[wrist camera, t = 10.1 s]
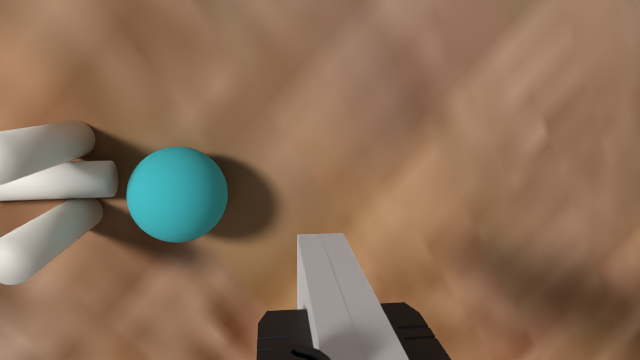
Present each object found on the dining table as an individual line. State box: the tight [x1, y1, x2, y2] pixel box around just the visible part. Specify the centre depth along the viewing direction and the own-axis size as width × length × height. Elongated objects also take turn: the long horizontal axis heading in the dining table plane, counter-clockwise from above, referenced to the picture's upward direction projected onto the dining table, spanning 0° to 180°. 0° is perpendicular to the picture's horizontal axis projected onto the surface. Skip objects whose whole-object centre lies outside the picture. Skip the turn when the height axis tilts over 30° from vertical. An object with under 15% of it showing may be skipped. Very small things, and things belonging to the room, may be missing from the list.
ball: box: [127, 147, 228, 242], centre depth 26 cm, size 6×6×6 cm
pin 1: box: [0, 121, 96, 185], centre depth 23 cm, size 2×2×8 cm
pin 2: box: [0, 198, 103, 285], centre depth 24 cm, size 2×2×8 cm
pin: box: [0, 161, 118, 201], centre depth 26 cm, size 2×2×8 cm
